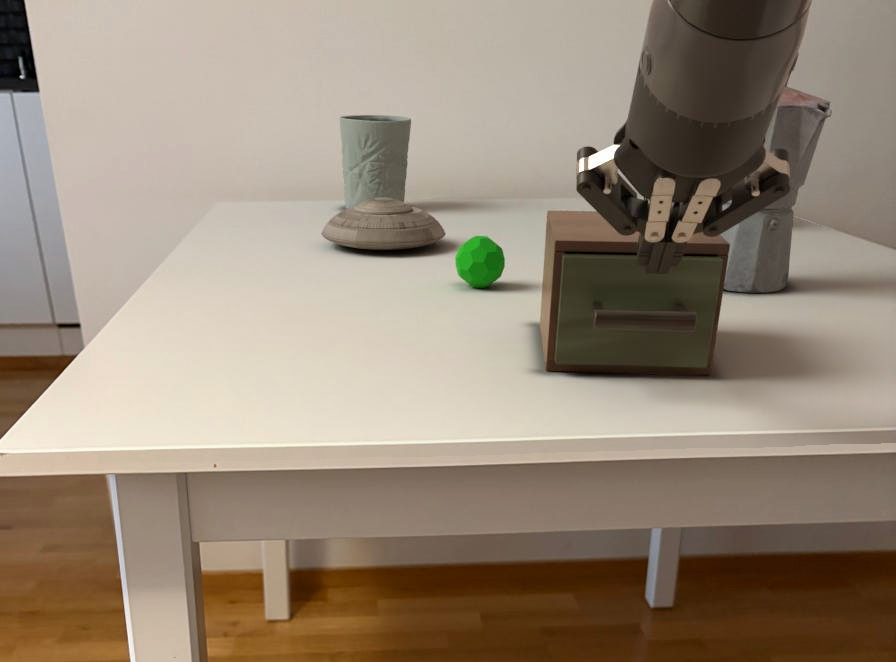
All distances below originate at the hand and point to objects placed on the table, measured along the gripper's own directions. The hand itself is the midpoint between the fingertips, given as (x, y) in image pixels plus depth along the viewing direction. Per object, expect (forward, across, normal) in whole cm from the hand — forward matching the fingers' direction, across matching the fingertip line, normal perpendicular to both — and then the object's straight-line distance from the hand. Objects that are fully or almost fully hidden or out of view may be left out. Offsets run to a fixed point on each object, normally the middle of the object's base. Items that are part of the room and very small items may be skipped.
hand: (655, 262), depth 70 cm
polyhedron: (+33, +12, -20) cm, 40 cm away
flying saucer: (+49, +24, -35) cm, 65 cm away
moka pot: (+36, -15, -22) cm, 45 cm away
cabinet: (+17, 0, -3) cm, 17 cm away
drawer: (+13, 0, -1) cm, 13 cm away
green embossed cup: (+70, +28, -56) cm, 94 cm away
